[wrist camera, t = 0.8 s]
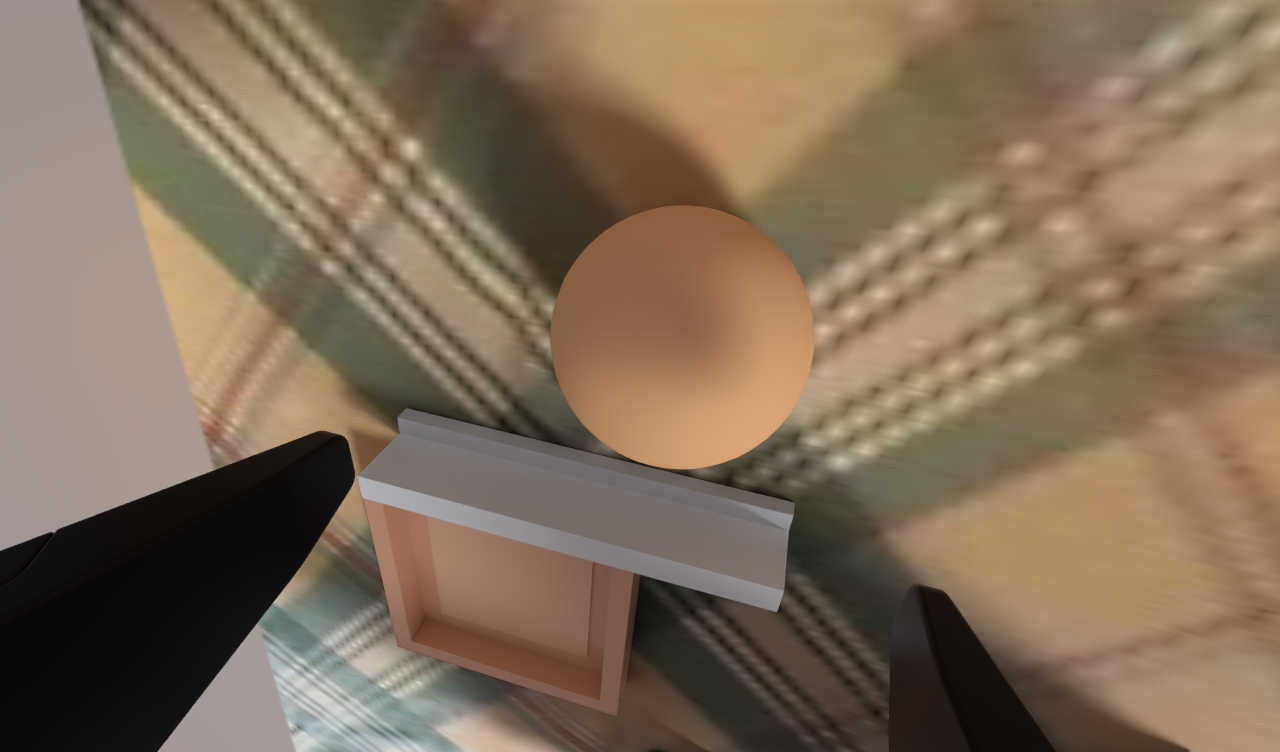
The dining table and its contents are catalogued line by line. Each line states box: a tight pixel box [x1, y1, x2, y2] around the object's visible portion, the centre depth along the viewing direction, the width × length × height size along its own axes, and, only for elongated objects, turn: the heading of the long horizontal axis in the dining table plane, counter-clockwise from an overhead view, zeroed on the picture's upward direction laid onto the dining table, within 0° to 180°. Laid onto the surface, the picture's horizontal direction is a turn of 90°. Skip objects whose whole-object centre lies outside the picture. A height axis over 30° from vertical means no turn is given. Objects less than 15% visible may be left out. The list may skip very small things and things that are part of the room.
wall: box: [357, 408, 794, 612], centre depth 20 cm, size 2×14×3 cm, turn 85°
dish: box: [363, 498, 640, 716], centre depth 25 cm, size 11×11×2 cm
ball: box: [550, 205, 815, 469], centre depth 14 cm, size 6×6×6 cm
